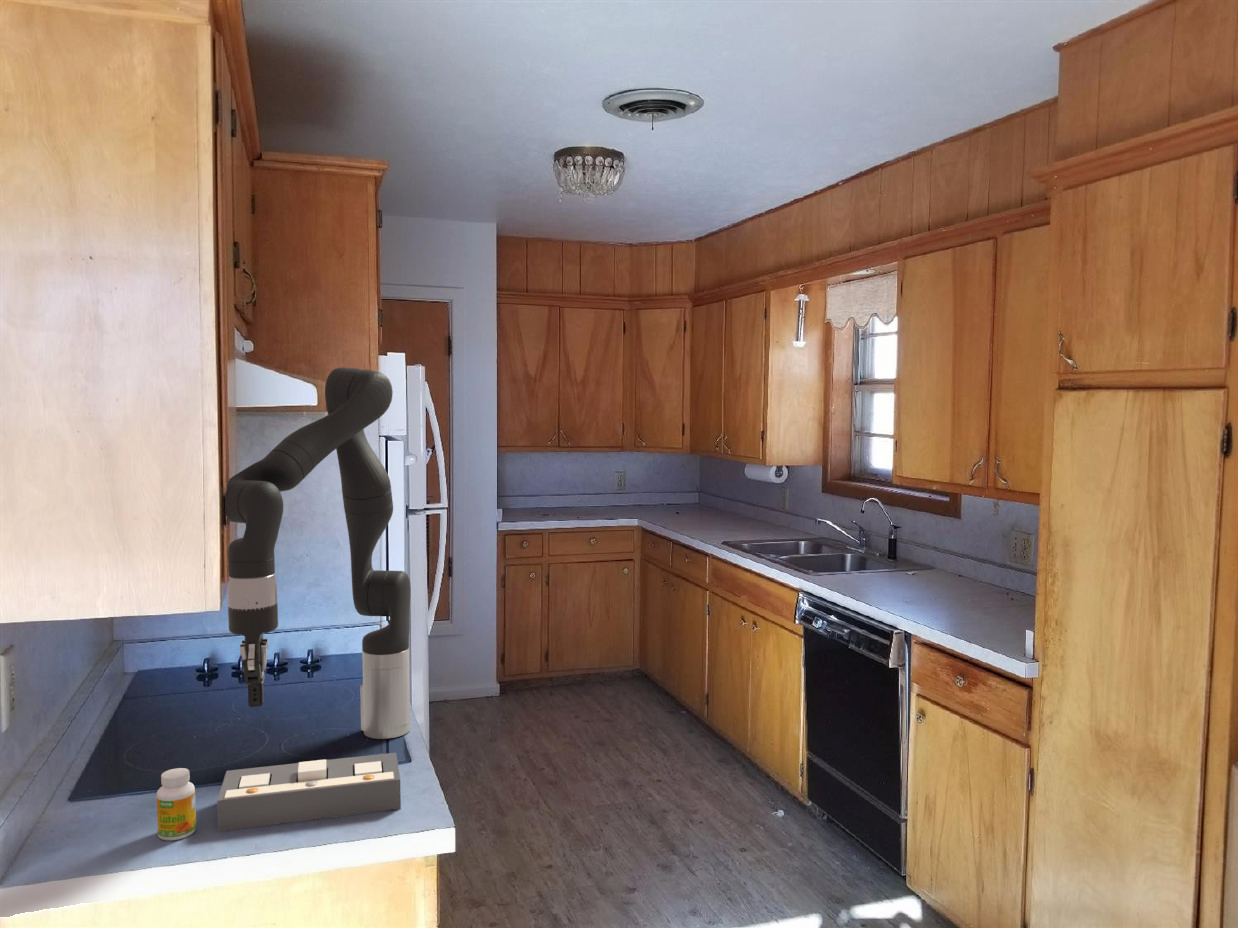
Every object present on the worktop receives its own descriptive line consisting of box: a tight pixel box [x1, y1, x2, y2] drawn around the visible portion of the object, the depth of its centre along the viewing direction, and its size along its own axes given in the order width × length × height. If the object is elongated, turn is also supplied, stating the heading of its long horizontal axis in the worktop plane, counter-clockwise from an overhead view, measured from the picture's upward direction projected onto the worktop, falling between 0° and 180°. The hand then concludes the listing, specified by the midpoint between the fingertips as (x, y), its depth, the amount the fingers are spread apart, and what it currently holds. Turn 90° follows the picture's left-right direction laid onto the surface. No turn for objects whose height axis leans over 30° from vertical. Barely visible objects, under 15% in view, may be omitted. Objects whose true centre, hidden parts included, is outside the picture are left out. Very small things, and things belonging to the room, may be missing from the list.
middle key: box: [298, 759, 327, 782], centre depth 152 cm, size 4×4×3 cm
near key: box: [239, 773, 270, 789], centre depth 149 cm, size 4×4×3 cm
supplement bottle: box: [156, 767, 197, 842], centre depth 142 cm, size 5×5×10 cm
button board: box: [216, 752, 402, 833], centre depth 152 cm, size 28×12×5 cm, turn 107°
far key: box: [355, 761, 382, 776], centre depth 155 cm, size 4×4×3 cm
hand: (256, 705), depth 149 cm, fingers closed
